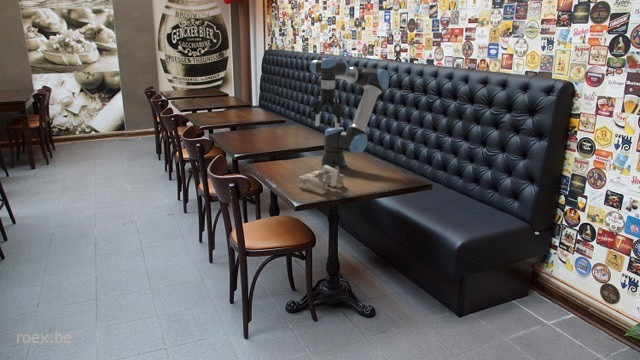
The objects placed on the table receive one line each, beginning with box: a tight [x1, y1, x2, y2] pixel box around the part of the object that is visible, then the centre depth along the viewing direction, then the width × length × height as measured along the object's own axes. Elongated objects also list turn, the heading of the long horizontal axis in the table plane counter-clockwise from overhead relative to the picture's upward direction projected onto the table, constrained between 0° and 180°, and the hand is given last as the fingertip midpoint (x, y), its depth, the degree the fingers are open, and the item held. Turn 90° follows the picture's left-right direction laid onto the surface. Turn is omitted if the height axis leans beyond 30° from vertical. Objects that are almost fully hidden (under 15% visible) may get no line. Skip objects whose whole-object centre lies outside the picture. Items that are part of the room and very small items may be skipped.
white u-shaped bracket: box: [321, 165, 338, 187], centre depth 248 cm, size 3×8×8 cm, turn 51°
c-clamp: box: [298, 166, 345, 195], centre depth 252 cm, size 18×16×10 cm
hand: (327, 127), depth 260 cm, fingers open, 13 cm apart
